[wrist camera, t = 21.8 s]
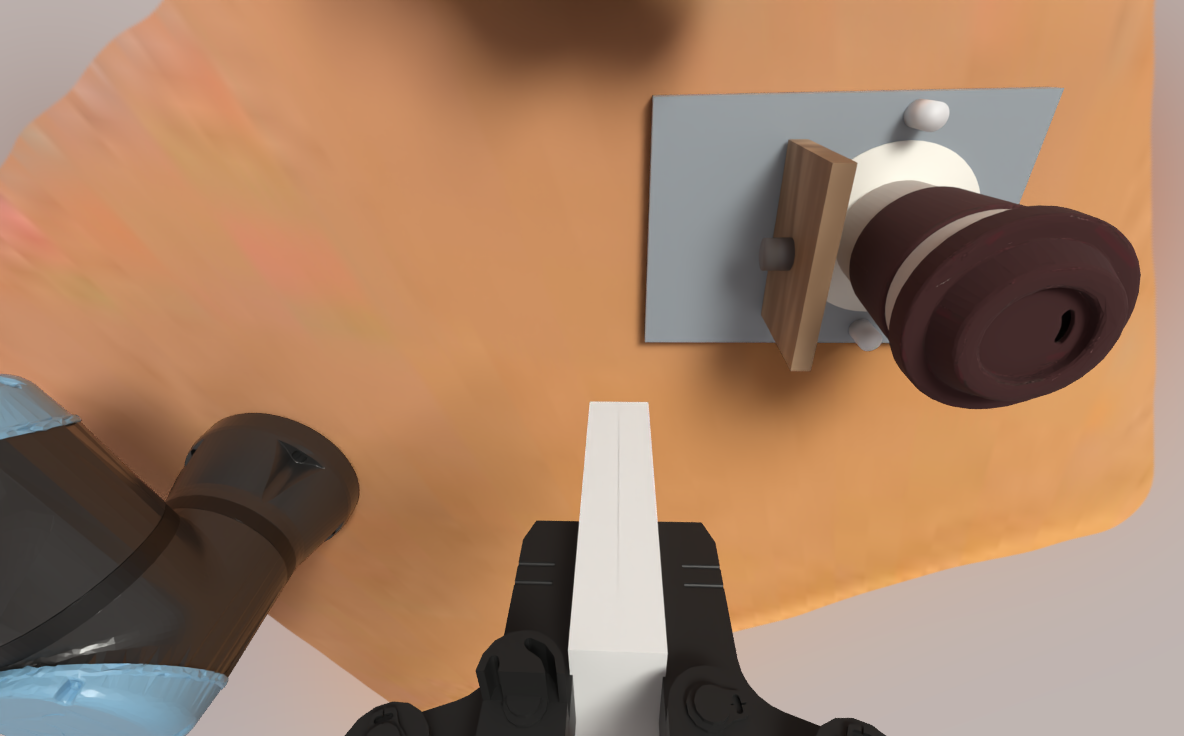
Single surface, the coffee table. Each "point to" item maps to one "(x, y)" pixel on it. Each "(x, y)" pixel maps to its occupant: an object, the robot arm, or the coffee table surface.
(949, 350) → the coffee cup
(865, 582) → the coffee table surface
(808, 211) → the panel
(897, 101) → the grey flat slab
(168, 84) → the coffee table surface
